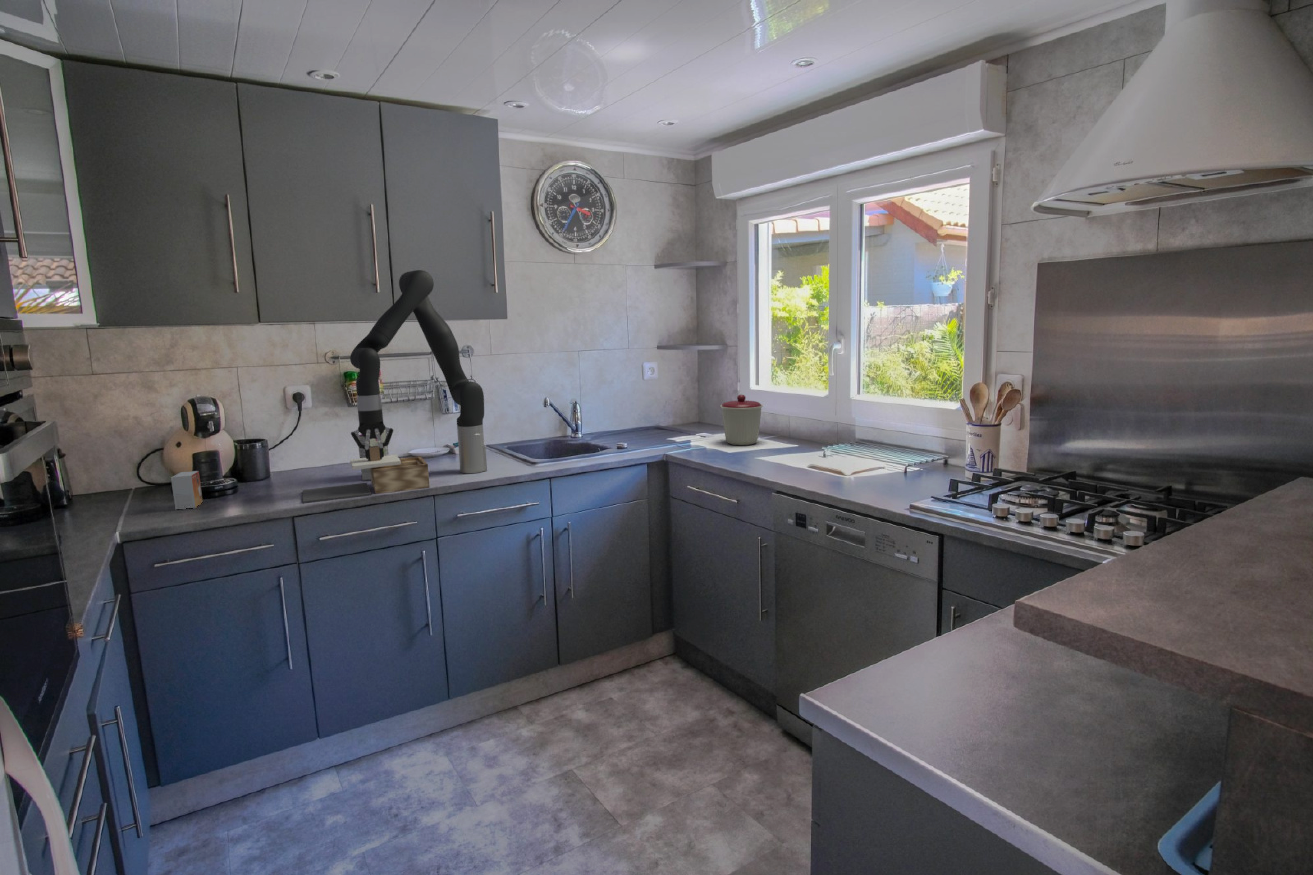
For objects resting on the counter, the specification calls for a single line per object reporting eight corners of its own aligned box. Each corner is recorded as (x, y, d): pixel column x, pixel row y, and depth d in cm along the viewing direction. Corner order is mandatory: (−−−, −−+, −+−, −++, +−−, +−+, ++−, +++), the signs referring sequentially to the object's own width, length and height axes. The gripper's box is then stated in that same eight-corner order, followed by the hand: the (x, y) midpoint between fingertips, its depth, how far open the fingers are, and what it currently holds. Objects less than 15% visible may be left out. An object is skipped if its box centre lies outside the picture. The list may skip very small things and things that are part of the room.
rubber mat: (366, 484, 253) (366, 482, 253) (371, 495, 237) (371, 493, 237) (302, 491, 244) (302, 489, 244) (302, 503, 228) (302, 501, 228)
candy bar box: (378, 473, 270) (374, 429, 267) (390, 473, 269) (387, 430, 266) (360, 480, 259) (356, 434, 257) (373, 480, 258) (369, 435, 256)
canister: (770, 445, 307) (770, 395, 303) (730, 448, 302) (730, 397, 298) (751, 438, 324) (751, 391, 320) (714, 441, 319) (713, 393, 315)
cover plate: (396, 457, 254) (394, 441, 253) (401, 464, 242) (399, 447, 241) (350, 462, 247) (348, 446, 246) (353, 469, 236) (351, 452, 235)
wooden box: (422, 478, 260) (420, 456, 258) (429, 487, 245) (427, 464, 244) (371, 484, 252) (369, 461, 251) (375, 493, 238) (373, 469, 237)
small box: (195, 508, 225) (191, 475, 223) (175, 510, 223) (170, 477, 222) (203, 502, 233) (199, 470, 231) (183, 504, 231) (179, 471, 229)
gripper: (391, 405, 248) (395, 455, 251) (346, 409, 242) (351, 460, 245) (393, 407, 241) (398, 459, 244) (347, 411, 235) (353, 464, 238)
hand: (374, 459), depth 244 cm, fingers closed on cover plate, 3 cm apart
